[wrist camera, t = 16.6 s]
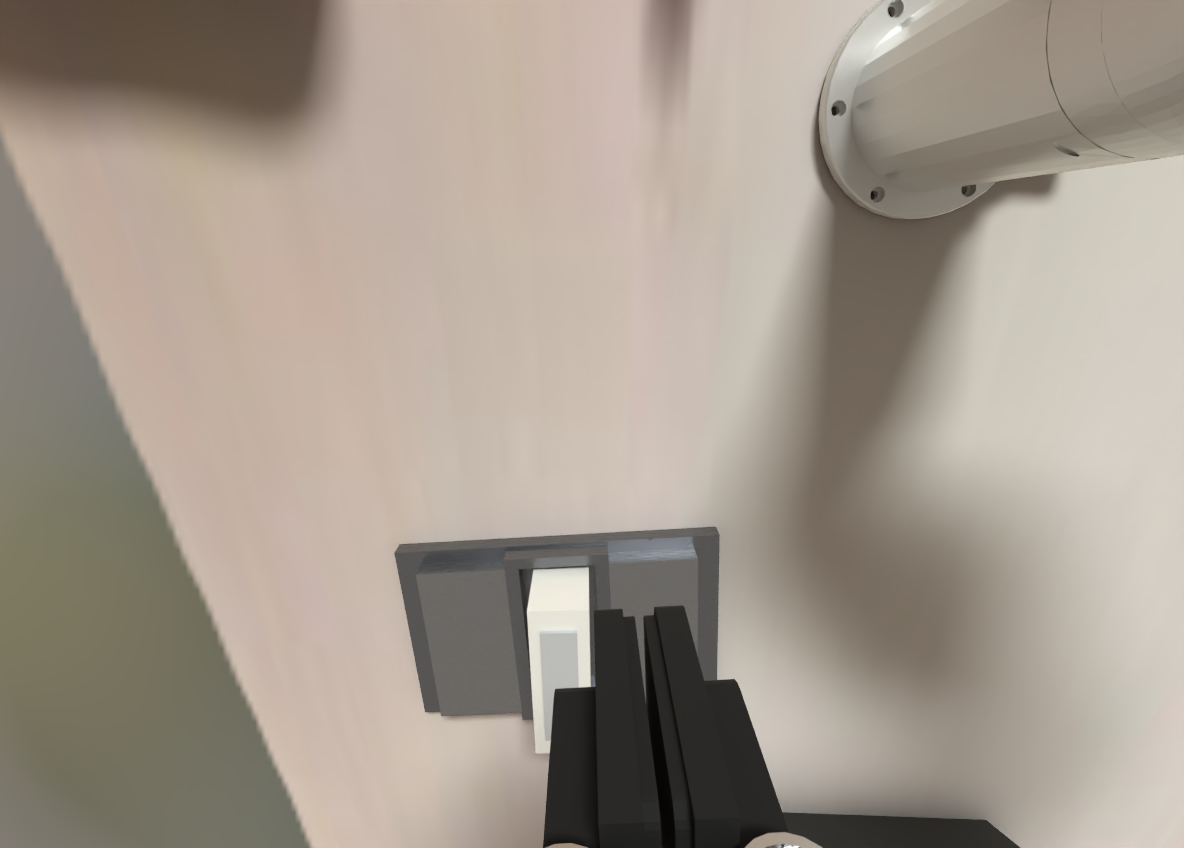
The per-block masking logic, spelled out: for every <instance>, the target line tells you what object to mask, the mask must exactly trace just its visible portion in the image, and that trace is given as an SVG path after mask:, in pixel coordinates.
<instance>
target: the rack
mask: <svg viewBox="0 0 1184 848" xmlns="http://www.w3.org/2000/svg"><path fill="white" fill-rule="evenodd" d="M395 558H396V563H397V568H398V573H399V578H400V584H401V589H402V594H403V599H404V604H405V610H406V615H407V620H408V625H409V630H410V635H411V641H412V646H413V651H414V656H415V661H416V667H417V672H418V677H419V682H420V687H421V693H422V698H423V703H424V708H425V712H437V711H441V716H455V715H474V714H493V713H512V712H522V716H523V720H529V719H533V703H532V687H531V670H530V654H529V638H528V622H527V607H528V601H529V595H530V588H531V582H532V576H533V570H534V568H549V567H567V566H585V565H589V603H590V655H591V687H595V642H594V610H605V609H623V617H627V616H635V623H636V630H637V638H638V646H639V654H640V661H641V669H642V677H643V685H644V692H645V700H646V684H645V653H644V623H643V617H644V616H645V615H654V607H660V606H679V605H683V606H684V608H685V611H686V615H687V618H688V622H689V626H690V630H691V633H692V637H693V641H694V645H695V648H696V652H697V656H698V660H699V663H700V667H701V671H702V674H703V678H704V681H711V680H717V641H718V583H719V533H718V531H717V529H716V527H706V528H688V529H670V530H652V531H634V532H616V533H598V534H580V535H562V536H544V537H526V538H508V539H490V540H472V541H454V542H436V543H418V544H400V545H399V547H398V548H397V550H396V552H395Z"/></svg>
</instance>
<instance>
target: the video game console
mask: <svg viewBox="0 0 1184 848" xmlns="http://www.w3.org/2000/svg"><path fill="white" fill-rule="evenodd" d="M783 816H784V819H785V822H786V825H787V828H788V831H789V833H790V834H794V835H798V836H802V837H805V838H806V839H808V840H810V841H812V842H814V843H815V844H817V845H819V846H821V847H822V848H1020V847H1019V846H1017V845H1016V844H1015V843H1014V842H1012V841H1011V840H1010V839H1009V838H1008V837H1006V836H1005V835H1004V834H1003V833H1001V832H1000V831H999V830H998V829H996V828H995V827H994V826H993V825H991V824H990V823H989V822H988V821H986V820H970V819H943V818H916V817H889V816H862V815H835V814H808V813H783Z"/></svg>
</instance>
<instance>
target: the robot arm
mask: <svg viewBox="0 0 1184 848" xmlns="http://www.w3.org/2000/svg"><path fill="white" fill-rule="evenodd" d="M888 10H889V11H890V12H891V17H890V15H889V14H888ZM831 108H835V109H836V114H835V116H833V115H832V112H831ZM819 134H820V143H821V147H822V151H823V155H824V158H825V162H826V164H827V166H828V168H829V170H830V172H831V174H832V176H833V178H834V180H835V181H836V182H837V184H838V185H839V186H840V188H841V189H842V190H843V192H844V193H845V194H846V195H847V196H848V197H850V198H851V199H852V200H853V201H854V202H856V203H857V204H858V205H859V206H861V207H863V208H865V209H867V210H869V211H871V212H873V213H875V214H878V215H882V216H886V217H889V218H894V219H919V218H930V217H934V216H938V215H941V214H945V213H949V212H951V211H953V210H955V209H958V208H960V207H962V206H964V205H966V204H968V203H970V202H971V201H973V200H974V199H976V198H977V197H979V196H980V195H982V194H983V193H985V192H986V191H987V190H988V189H989V188H990V187H991V186H992V185H994V184H995V183H996V182H997V181H1002V180H1010V179H1017V178H1024V177H1031V176H1038V175H1045V174H1053V173H1060V172H1067V171H1074V170H1081V169H1088V168H1096V167H1103V166H1110V165H1117V164H1124V163H1131V162H1139V161H1146V160H1153V159H1159V158H1166V157H1173V156H1180V155H1184V0H882V1H881V2H879V3H878V4H877V5H876V6H874V7H873V8H872V9H871V10H870V11H868V12H867V13H866V14H865V16H864V17H863V18H862V19H861V20H860V21H859V22H858V23H857V24H856V25H855V26H854V27H853V29H852V30H851V31H850V32H849V34H848V35H847V37H846V38H845V40H844V41H843V43H842V44H841V46H840V47H839V49H838V51H837V53H836V55H835V57H834V59H833V61H832V64H831V66H830V68H829V70H828V72H827V76H826V79H825V83H824V87H823V90H822V94H821V100H820V109H819ZM962 188H963V191H961V189H962ZM871 191H872V192H873V193H874V197H873V199H872V200H871V196H870V194H871ZM643 623H644V653H645V684H646V700H645V692H644V685H643V677H642V669H641V661H640V654H639V646H638V638H637V630H636V623H635V616H627V617H623V609H605V610H594V642H595V687H580V688H561V689H555V692H554V701H553V715H552V729H551V744H550V758H549V772H548V786H547V801H546V815H545V829H544V843H543V848H822V847H821V846H819V845H817V844H815V843H814V842H812V841H810V840H808V839H806V838H805V837H802V836H798V835H794V834H790V833H789V831H788V828H787V825H786V822H785V819H784V816H783V813H782V810H781V808H780V805H779V802H778V799H777V796H776V793H775V790H774V787H773V784H772V781H771V778H770V775H769V772H768V770H767V767H766V764H765V761H764V758H763V755H762V752H761V749H760V746H759V743H758V740H757V737H756V734H755V731H754V729H753V726H752V723H751V720H750V717H749V714H748V711H747V708H746V705H745V702H744V699H743V696H742V693H741V691H740V688H739V686H738V683H737V682H736V680H735V679H730V680H711V681H704V678H703V674H702V671H701V667H700V663H699V660H698V656H697V652H696V648H695V645H694V641H693V637H692V633H691V630H690V626H689V622H688V618H687V615H686V611H685V608H684V606H683V605H679V606H660V607H654V615H645V616H644V617H643Z"/></svg>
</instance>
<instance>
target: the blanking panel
mask: <svg viewBox="0 0 1184 848" xmlns="http://www.w3.org/2000/svg"><path fill="white" fill-rule="evenodd" d="M527 622H528V638H529V654H530V670H531V687H532V703H533V719H534V735H535V752H536V754H545V753H550V744H551V729H552V715H553V701H554V692H555V689H561V688H580V687H591V655H590V603H589V565H585V566H567V567H549V568H534V570H533V576H532V582H531V588H530V595H529V601H528V607H527Z"/></svg>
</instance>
